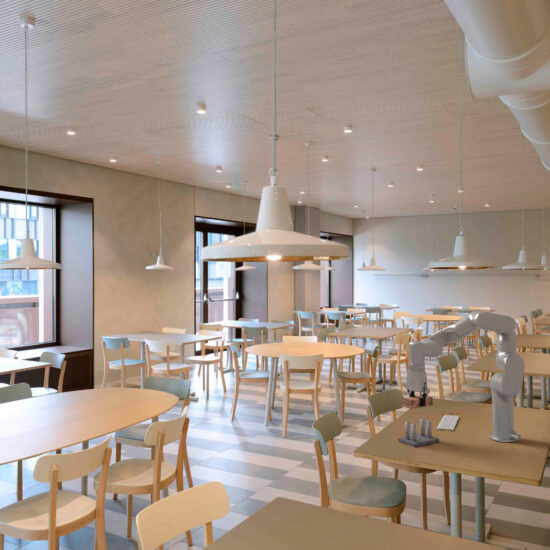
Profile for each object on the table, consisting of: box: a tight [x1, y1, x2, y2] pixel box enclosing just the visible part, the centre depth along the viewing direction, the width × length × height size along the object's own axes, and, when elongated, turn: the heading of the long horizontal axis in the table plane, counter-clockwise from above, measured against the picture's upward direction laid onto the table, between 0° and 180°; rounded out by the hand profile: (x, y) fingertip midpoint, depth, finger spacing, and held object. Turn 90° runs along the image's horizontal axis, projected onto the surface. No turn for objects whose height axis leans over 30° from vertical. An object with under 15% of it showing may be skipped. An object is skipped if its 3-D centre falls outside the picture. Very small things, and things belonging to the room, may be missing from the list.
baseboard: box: [435, 412, 460, 432], centre depth 296 cm, size 30×3×10 cm
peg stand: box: [397, 418, 440, 448], centre depth 263 cm, size 11×16×10 cm
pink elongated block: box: [401, 395, 434, 410], centre depth 263 cm, size 14×6×4 cm, turn 119°
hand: (417, 404), depth 263 cm, fingers closed on pink elongated block, 6 cm apart
